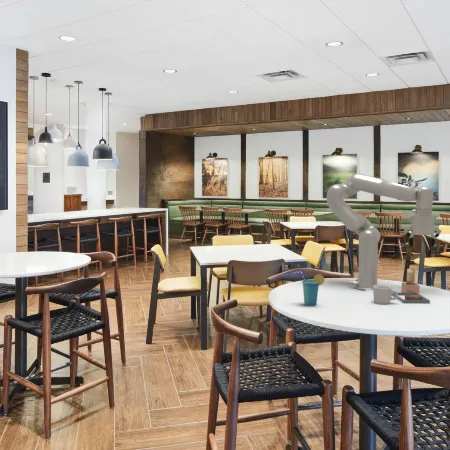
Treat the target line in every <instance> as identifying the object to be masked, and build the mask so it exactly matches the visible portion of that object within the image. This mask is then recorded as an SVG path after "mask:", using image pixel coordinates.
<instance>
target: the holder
mask: <svg viewBox="0 0 450 450" xmlns="http://www.w3.org/2000/svg"><path fill="white" fill-rule="evenodd" d="M401 292H416V293H418V294H420V284H418V283H416V282H414V285H407V281H406V282H403V281H402V282H401Z"/></svg>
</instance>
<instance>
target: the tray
mask: <svg viewBox="0 0 450 450" xmlns="http://www.w3.org/2000/svg"><path fill="white" fill-rule="evenodd" d="M397 292H398V291H397ZM405 295H421V294H420V293H419V294H418V293H416V292H400V291H399V292H398V297H397V299H396V300H398V301H400V303H402V304H423V305H424V304H431V299H428V298H427V297H426V296H423V295H422V298H423V300H405V298H402V297H400V296H405ZM391 297H392V298H395V297H396V293H395V292H392V294H391Z"/></svg>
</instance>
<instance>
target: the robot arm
mask: <svg viewBox="0 0 450 450" xmlns="http://www.w3.org/2000/svg"><path fill="white" fill-rule="evenodd" d="M359 192H364V193H367V194H368V193H369V194H373V195H376V196H380V197H386V198H389V199H390V198H391V199H395V200H399V201H402V202H415V208H414V209H412V213H414V214H413V217H412V222H411V225H409V226H407V227H406V228H404V229H403V230H404V232H405V234H406V236H408V239H409V240H408V241H409V242H408V244H409V246H410V247H414V236H415V235H417V236H430V237H431V238H430V248H434V246H435V244H436V239H437V238H438V237H440V235H441V233H442V229H439V228H437V227H436V226H435V216H434V215H433V201H434V189H433V187H429V186H428V187H426V186H422V187H421V186H419V187H416V186H410V185H409V186H408V185H404V184H401V183H397V182H393V181H388V180H387V179H383V178H381V177H377V176H376V177H375V176H371V175H366V174H362V173H354V174H352V175H351V176H350V178H349V179H347V180H346V181H343V182H342V183H336V184H333V185H331V186H330V187H329V188H328V190H327V193H326V203H327V206H328V208H329V209H330V211H331V213H333V214H334V216H335V217H336V218H338V219H339V221H340V222H341V223H342V224H343V225H344V227H346V229H348V230H349V231H351V232H354V233H356V235H358V277H357V278H356V279H355V280H349V281H348V285H355V286H354V288H355V289H356V290H361V291H367V290H369V291H370V290H372V291H373V286H374V285H378V269H379V268H378V261H379V259H378V258H379V242H380V239H381V233H380V230H378V229H377V227H376V226H374V225H373V223H371V221H370V220H369V219H368V218H366V217H365V216H364V215H363V214H362V213H357V212H356V211H355V210H354V209H353V208H352V207H351V206H350V205H349V204H348V203H347V202H345V199H347V198H349V197H351V196H353V195H355V194H357V193H359ZM409 230H410V231H411V233H410V232H409ZM435 231H436V233H435Z"/></svg>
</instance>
